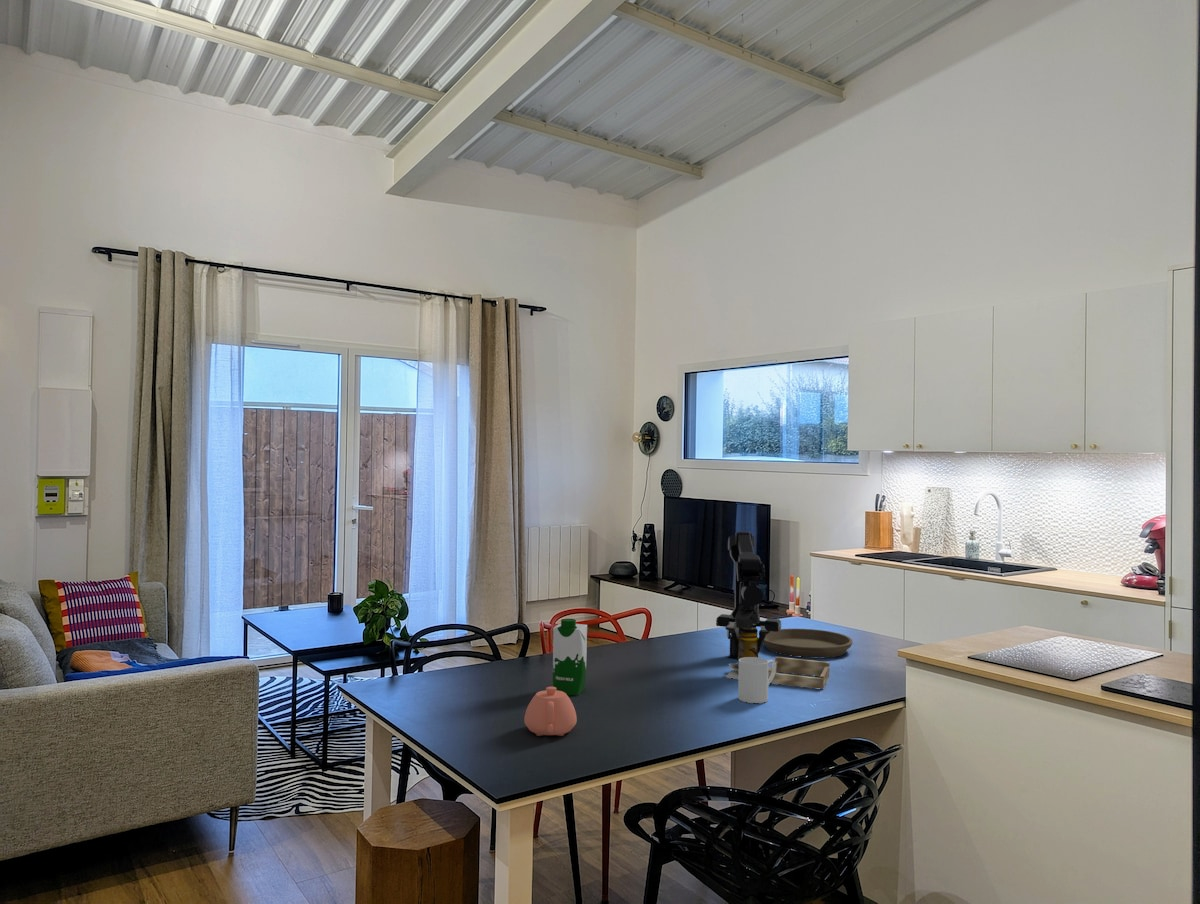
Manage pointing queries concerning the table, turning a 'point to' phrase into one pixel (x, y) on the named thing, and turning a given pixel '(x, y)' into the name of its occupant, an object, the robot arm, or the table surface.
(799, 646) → the plant saucer
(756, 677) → the mug
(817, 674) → the pine frame
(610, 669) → the table surface
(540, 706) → the sugar bowl
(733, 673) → the grey mat
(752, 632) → the condiment
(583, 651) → the milk carton
